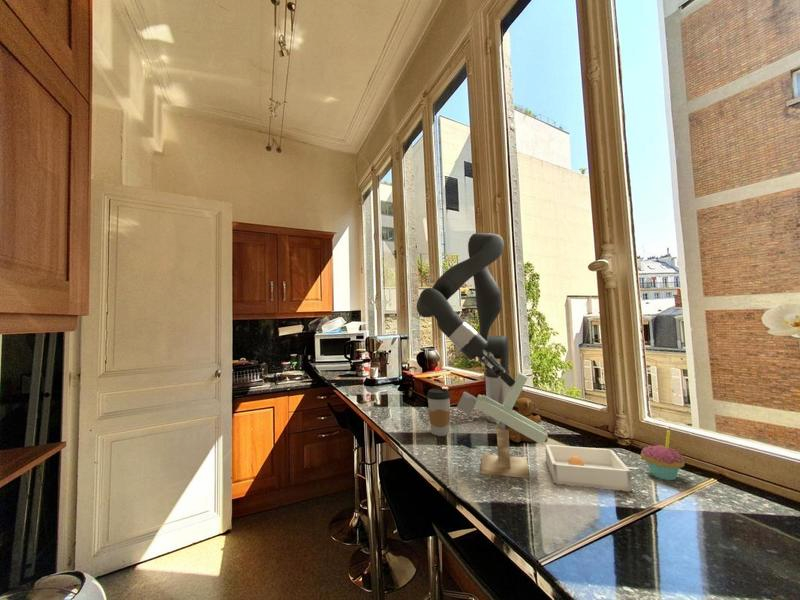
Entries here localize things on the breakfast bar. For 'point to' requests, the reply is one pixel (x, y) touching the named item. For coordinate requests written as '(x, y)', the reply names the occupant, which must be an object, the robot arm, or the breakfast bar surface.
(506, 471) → the fulcrum stand
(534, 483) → the breakfast bar surface
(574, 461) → the ball
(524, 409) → the stuffed squirrel
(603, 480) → the tub
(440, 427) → the coffee cup
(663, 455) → the cupcake
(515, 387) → the tilting chute
